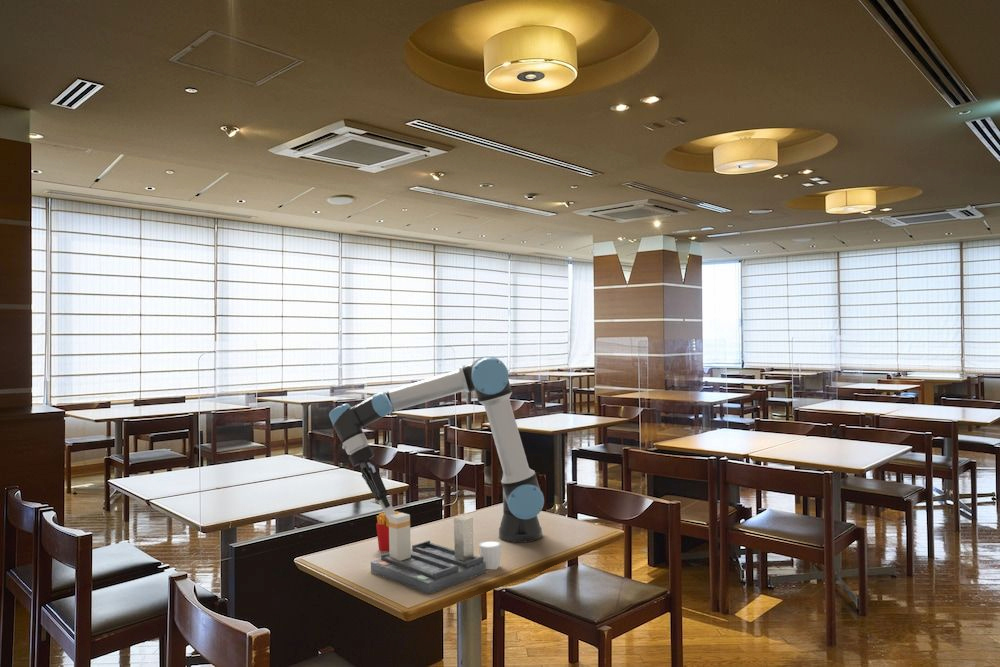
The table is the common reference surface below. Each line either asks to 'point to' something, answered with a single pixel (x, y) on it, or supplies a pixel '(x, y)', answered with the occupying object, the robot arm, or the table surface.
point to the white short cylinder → (490, 553)
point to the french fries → (383, 531)
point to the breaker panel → (435, 562)
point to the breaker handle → (399, 536)
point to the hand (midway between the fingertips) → (391, 517)
